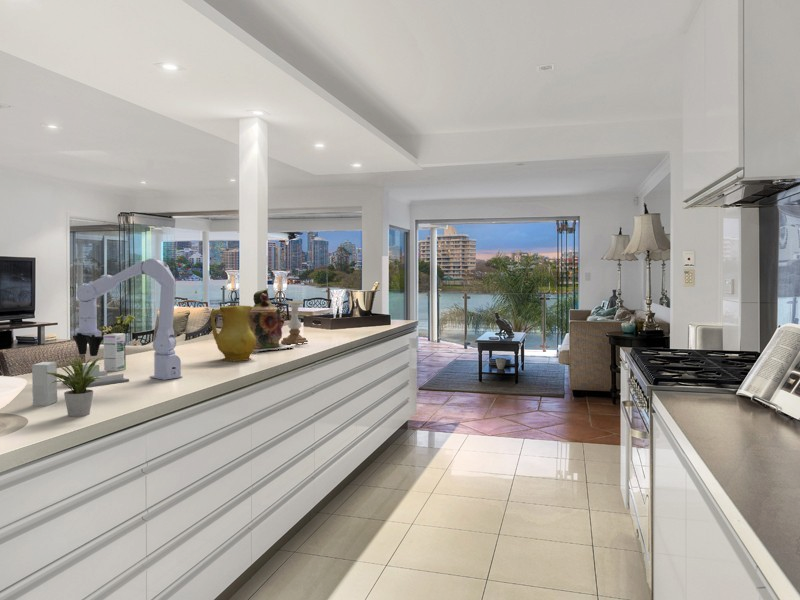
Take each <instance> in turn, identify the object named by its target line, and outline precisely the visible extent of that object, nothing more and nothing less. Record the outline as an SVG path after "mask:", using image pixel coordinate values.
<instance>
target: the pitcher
mask: <svg viewBox="0 0 800 600" xmlns="http://www.w3.org/2000/svg"><path fill="white" fill-rule="evenodd" d="M252 308H253V306H251V305H231V306H230V305H226V306H222V305H221V306H220V307H219V308H214V309H213V310H212V311H211V314H210V321H211V323H210V324H211V325H210V326H211V328H212V330H211V331H212V336H213V339H214V341H215V344H216V346H217V350H219V352H220V353H222V354H223V356H224V358H222V360H223V361H226V362H242V361H250V360H251V358H250V356H251V355H252V354H253V353H255V352H254V351H253V349H254V347H255V346H256V338H255V336H254V334H253V332H252V331H251V329H250V327H249V324H248V315H249V312H250V311H251V309H252ZM217 314H220V315H221V316H222V320H223V321H222V327H221V329H220V331H219V333H218V331H217V327H216V323H215V316H216V315H217ZM249 359H250V360H249Z"/></svg>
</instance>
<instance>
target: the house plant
mask: <svg viewBox="0 0 800 600" xmlns="http://www.w3.org/2000/svg"><path fill="white" fill-rule="evenodd" d="M64 359H65V360H66V362H68V363H69V365H70V366H71V368H72V370H73V371H72V370H71V369H70V368H69V367H68V366H67V365H66V364H63V363H59V362H57V361H52V362H53V363H57V367H59V368H61V369H62V370H64V372H66V374H67V375H64V374H61V373H47V374H51V375H54V376H56V377H57V381H54V382H57V383H59V382H62V384H63V385H65V386H67V387H68V388H69V389H70V390H67V391H64V392H63V396H64V401H65V406H66V411H67V416H68V417H74V418H78V417H85V416H88V415H90V413H91V408H92V401H93V396H94V390H93V389H88V387H87V386H88V385H89V384H90V383H92V382H94V381H97V380H94V379H100V378H94V377H98V376H90V375H89V376H88V374H89V372H90V371H91V370H92V368H93V367H94V365H95V364H96V365H97V366H98V365H99V366H100V363H98V361H99V360H101V359H104V356H103V357H98V358H95V357H92V358H90V359H88V360H86V361H87V362H86V363H85V364H83V362H82V357H81V355H79V356H78V360H77V359H76V358H75V357H72V359H73V363H72V362H71V361H70V360H69V359H67V358H66V357H64ZM93 359H94V360H93ZM91 360H93V361H92V362H91V363H90V366H89V368H88V370H87V371H86V373H85V375H84V377H83V373H84V370H85V367H86V365H88V364H89V362H90V361H91ZM97 363H98V364H97ZM58 364H59V365H58ZM83 365H85V367H84V370H83ZM97 366H96V367H97ZM96 367H95V368H96ZM73 372H74V373H73ZM92 372H93V371H92ZM92 372H91V373H92ZM91 373H90V374H91ZM68 375H69V376H70V377H71V379H70V378H69V377H68ZM71 375H73V377H72V376H71ZM56 377H54V378H56ZM87 377H88V378H87ZM92 378H93V379H92ZM65 381H66V382H65ZM54 382H53V383H54ZM64 382H65V383H67V384H65V383H64Z"/></svg>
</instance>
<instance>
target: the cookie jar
mask: <svg viewBox="0 0 800 600" xmlns="http://www.w3.org/2000/svg"><path fill="white" fill-rule="evenodd" d="M252 301H253V302H254V304H253V306H252V307H253V308H252V309H251V311H250V312H249V315H248V324H249V327H250V329H251V331H252V332H253V334H254V336H255V338H256V346H255V347H254V349H253V351H254V352H253V353H259V352H263V351H264V352H266V351H269V350H270V351H279V350H287V348H289V349H290V348H292V349H294V348H295V346H296V345H287V344H281V343H280V341H281V339H283V337H282V336H283V331H282V328H283V327H284V324H285V320H284V319H283V315H281V310H280V308H277V307H276V306H275V305H274V304H272V302H271V301H270V297H269V287H266V288H265V289H262V290H259V291H256V292H255V293H254V294H253V300H252ZM293 347H294V348H293ZM278 349H279V350H278Z"/></svg>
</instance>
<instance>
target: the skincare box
mask: <svg viewBox="0 0 800 600" xmlns="http://www.w3.org/2000/svg"><path fill="white" fill-rule="evenodd" d="M53 362H54V361H41V362H38V363H34V364H32V365H31V370H32V372H31V373H32V375H31V376H32V377H31V379H32V381H31V383H32V406H33V407H47V406H49V405H53V404H54V403H56V402H58V382H54V381H58V379H57V378H58V377H56V376H54V375H51V374H47V373H57V371H58V368H57V367H58V366H57V365H58V362H56V363H53ZM57 374H58V373H57ZM54 377H56V378H54ZM53 382H54V383H53Z"/></svg>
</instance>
